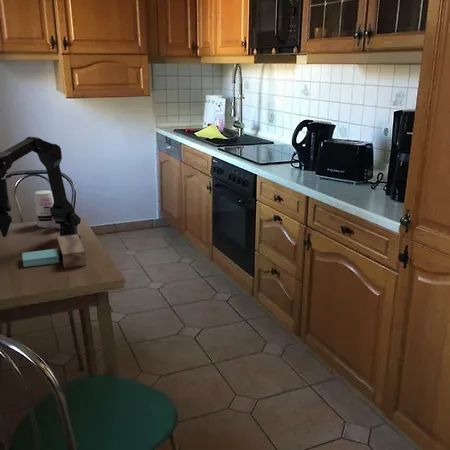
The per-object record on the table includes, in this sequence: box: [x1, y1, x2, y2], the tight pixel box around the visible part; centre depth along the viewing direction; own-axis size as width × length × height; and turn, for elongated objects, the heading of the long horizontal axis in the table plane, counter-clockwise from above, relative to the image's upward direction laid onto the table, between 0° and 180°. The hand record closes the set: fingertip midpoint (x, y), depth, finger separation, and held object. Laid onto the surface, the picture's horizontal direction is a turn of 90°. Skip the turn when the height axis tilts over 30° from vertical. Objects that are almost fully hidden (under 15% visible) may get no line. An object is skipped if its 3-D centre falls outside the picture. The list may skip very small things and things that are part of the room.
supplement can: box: [33, 189, 56, 229], centre depth 224 cm, size 8×8×15 cm
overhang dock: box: [56, 233, 87, 269], centre depth 189 cm, size 8×20×5 cm, turn 22°
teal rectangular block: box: [21, 248, 60, 268], centre depth 186 cm, size 12×8×2 cm, turn 112°
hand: (4, 236), depth 179 cm, fingers closed
